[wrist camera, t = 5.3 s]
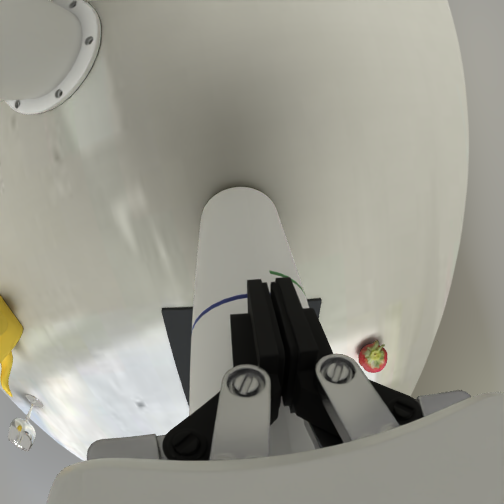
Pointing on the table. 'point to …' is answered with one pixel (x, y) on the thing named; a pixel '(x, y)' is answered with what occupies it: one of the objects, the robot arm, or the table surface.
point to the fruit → (373, 357)
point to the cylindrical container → (238, 295)
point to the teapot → (7, 341)
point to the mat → (180, 338)
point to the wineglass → (24, 428)
